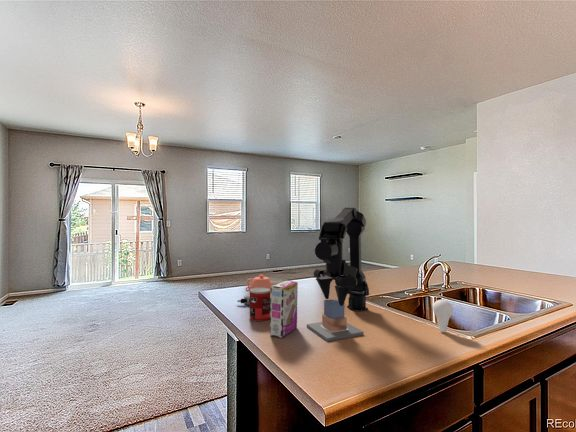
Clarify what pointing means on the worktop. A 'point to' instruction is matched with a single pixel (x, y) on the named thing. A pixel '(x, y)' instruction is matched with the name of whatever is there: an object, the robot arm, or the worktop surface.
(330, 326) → the terracotta block
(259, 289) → the canned food
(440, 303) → the lightbulb
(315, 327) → the board
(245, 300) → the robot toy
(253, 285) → the sugar bowl
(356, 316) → the worktop surface
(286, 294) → the candy bar box
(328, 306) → the blue cube
